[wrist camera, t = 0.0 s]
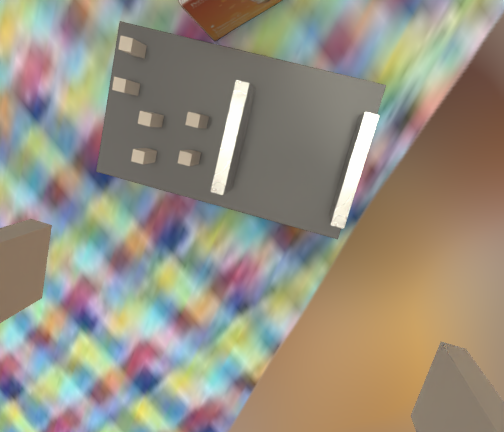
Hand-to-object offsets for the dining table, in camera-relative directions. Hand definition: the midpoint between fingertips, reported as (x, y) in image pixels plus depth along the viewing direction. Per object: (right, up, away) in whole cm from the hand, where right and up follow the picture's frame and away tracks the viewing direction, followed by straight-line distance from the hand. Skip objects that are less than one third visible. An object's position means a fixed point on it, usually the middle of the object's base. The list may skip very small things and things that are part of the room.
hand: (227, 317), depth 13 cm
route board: (-1, +12, +27) cm, 29 cm away
